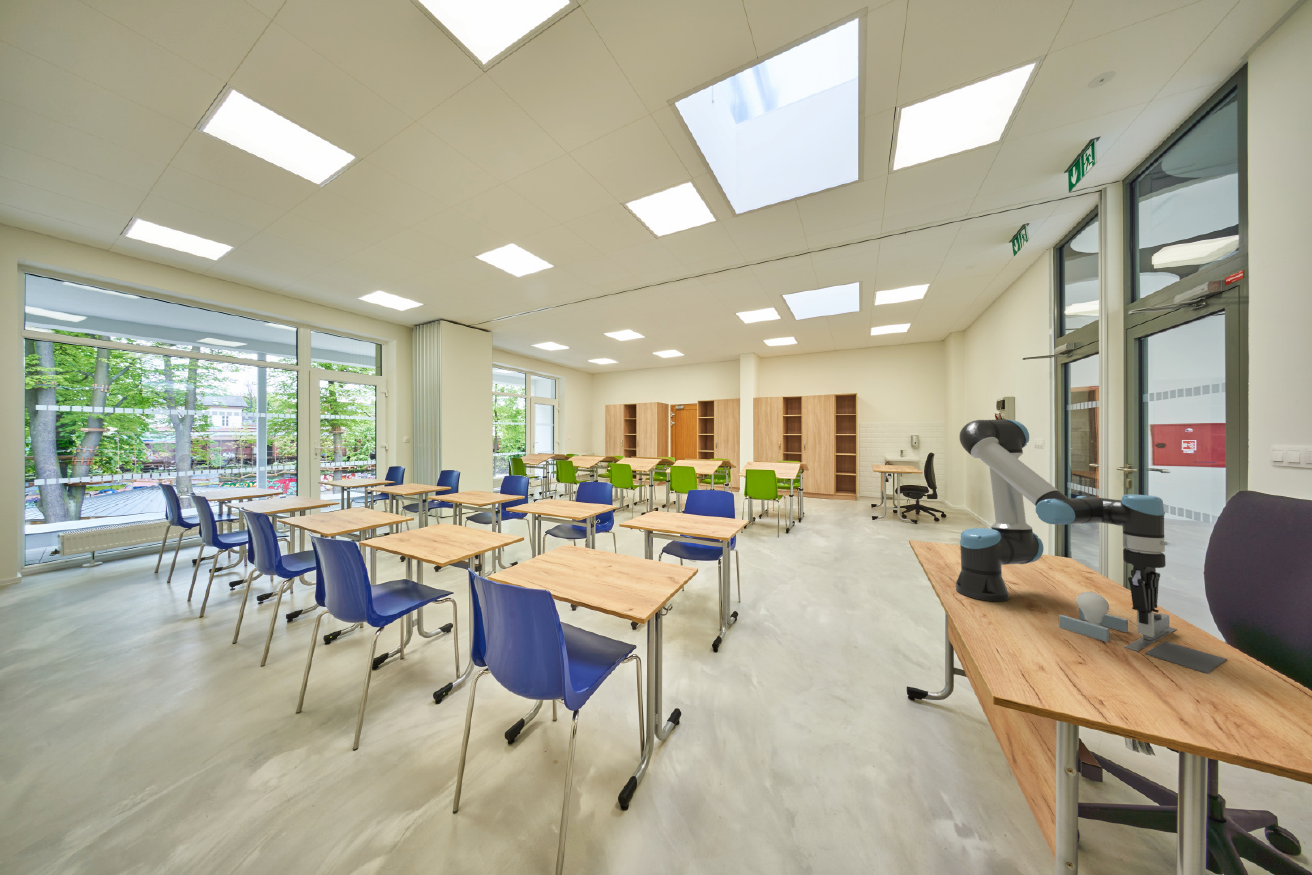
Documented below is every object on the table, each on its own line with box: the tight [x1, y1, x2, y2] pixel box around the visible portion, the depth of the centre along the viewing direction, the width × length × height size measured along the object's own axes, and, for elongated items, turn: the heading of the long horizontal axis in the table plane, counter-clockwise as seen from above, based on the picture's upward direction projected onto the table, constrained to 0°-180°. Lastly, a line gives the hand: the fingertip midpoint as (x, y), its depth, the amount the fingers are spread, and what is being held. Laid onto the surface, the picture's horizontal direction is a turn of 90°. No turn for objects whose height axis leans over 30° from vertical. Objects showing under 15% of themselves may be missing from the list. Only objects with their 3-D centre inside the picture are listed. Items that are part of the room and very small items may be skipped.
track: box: [1123, 626, 1178, 653], centre depth 114 cm, size 2×28×1 cm, turn 114°
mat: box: [1144, 641, 1228, 675], centre depth 104 cm, size 10×14×1 cm
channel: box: [1058, 607, 1129, 643], centre depth 119 cm, size 10×14×4 cm
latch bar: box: [1142, 612, 1171, 641], centre depth 115 cm, size 2×13×6 cm, turn 114°
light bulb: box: [1076, 591, 1110, 626], centre depth 119 cm, size 7×7×11 cm
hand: (1145, 634), depth 112 cm, fingers closed
